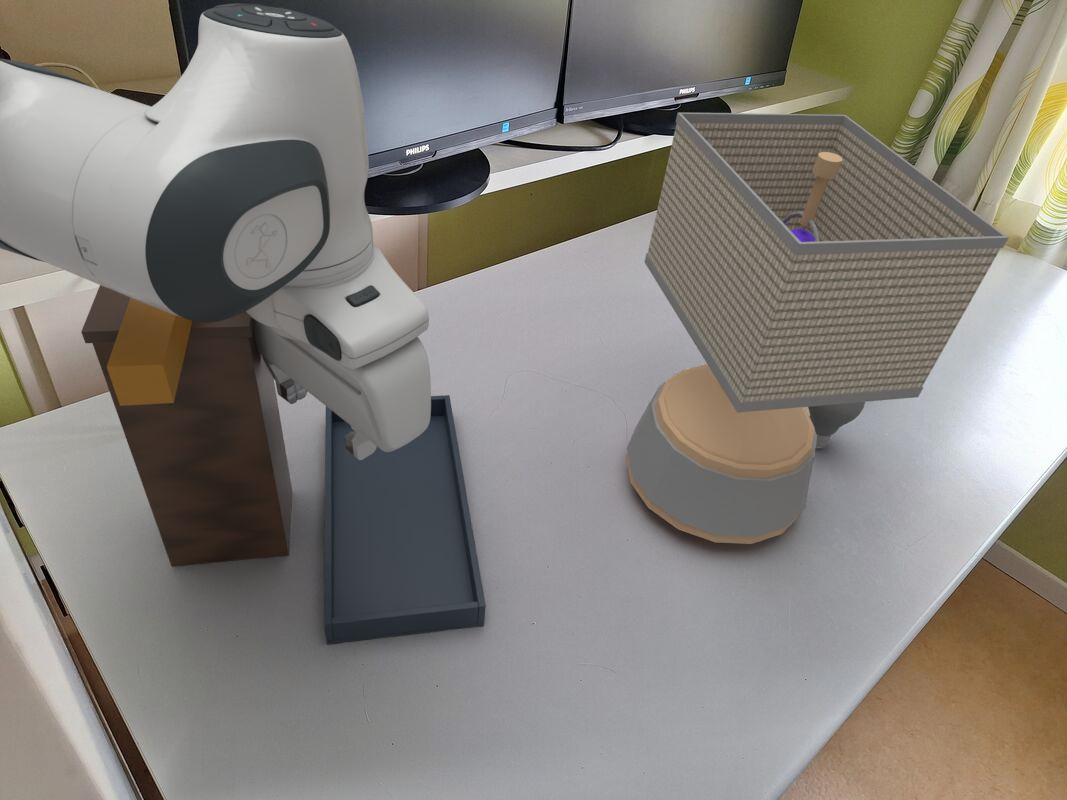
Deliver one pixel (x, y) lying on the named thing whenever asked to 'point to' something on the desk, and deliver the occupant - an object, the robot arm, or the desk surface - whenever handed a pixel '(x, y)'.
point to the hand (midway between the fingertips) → (326, 423)
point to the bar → (148, 355)
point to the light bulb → (832, 419)
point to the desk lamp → (790, 306)
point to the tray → (398, 536)
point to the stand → (207, 442)
